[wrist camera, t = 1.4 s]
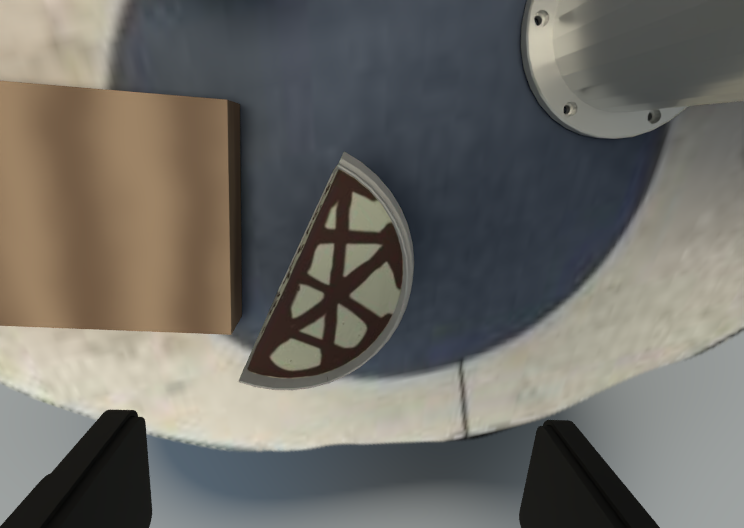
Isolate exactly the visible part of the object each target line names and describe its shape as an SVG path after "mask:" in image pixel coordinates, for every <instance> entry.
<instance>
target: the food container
mask: <svg viewBox="0 0 744 528" xmlns="http://www.w3.org/2000/svg"><path fill="white" fill-rule="evenodd" d="M413 270H414V254H413V243H412V239H411V235H410V231H409V227H408V224H407V221H406V219H405V217H404V214H403V212H402V210H401V207H400V206H399V204H398V202H397V201H396V199H395V198H394V196H393V194H392V193H391V191H390V190H389V189H388V188H387V186H386V185H385V184H384V183H383V182H382V181H381V180H380V178H379V177H378V176H377V175H376V174H375V173H374V172H372V171H371V170H370V169H369V168H368V167H366V166H365V165H364V164H363V163H362V162H360V161H359V160H357V159H355V158H354V157H352V156H351V155H349V154H347V153H346V152H343V155H342V157H341V160H340V162H339V164H338V165H337V166H336V167H335V169H334V170H333V172H332V175H331V177H330V179H329V181H328V183H327V185H326V188H325V190H324V192H323V194H322V196H321V198H320V201H319V203H318V205H317V207H316V209H315V212H314V214H313V216H312V218H311V220H310V222H309V225H308V227H307V229H306V231H305V233H304V235H303V238H302V240H301V242H300V244H299V246H298V249H297V251H296V253H295V255H294V257H293V259H292V262H291V264H290V266H289V268H288V270H287V272H286V275H285V277H284V279H283V281H282V283H281V285H280V288H279V290H278V292H277V294H276V297H275V299H274V301H273V303H272V306H271V308H270V310H269V313H268V315H267V317H266V320H265V322H264V324H263V326H262V329H261V331H260V333H259V336H258V338H257V340H256V342H255V345H254V347H253V349H252V352H251V354H250V356H249V359H248V361H247V363H246V365H245V367H244V369H243V372H242V374H241V377H240V379H239V382H240V383H244V384H247V385H251V386H254V387H259V388H265V389H272V390H298V389H306V388H312V387H316V386H320V385H324V384H328V383H330V382H333V381H335V380H337V379H340V378H342V377H344V376H346V375H348V374H349V373H351V372H353V371H354V370H356V369H358V368H359V367H361V366H362V365H363V364H364V363H366V362H367V361H368V360H369V359H371V358H372V357H373V356H374V355H375V354H376V353H377V352H378V351H379V350H380V349H381V348H382V347H383V346H384V345H385V344H386V342H387V341H388V340H389V339H390V337H391V336H392V334H393V333H394V331H395V330H396V328H397V327H398V325H399V323H400V321H401V319H402V316H403V314H404V312H405V310H406V307H407V303H408V299H409V296H410V292H411V287H412V281H413Z"/></svg>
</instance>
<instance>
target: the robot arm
mask: <svg viewBox="0 0 744 528" xmlns="http://www.w3.org/2000/svg"><path fill="white" fill-rule="evenodd" d="M534 18H537V19H538V21H539V24H538V26H537V25H536V24H535V22H534ZM521 53H522V60H523V67H524V71H525V74H526V77H527V80H528V83H529V86H530V89H531V90H532V92H533V94H534V96H535V97H536V99H537V101H538V102H539V104H540V105H541V107H542V108H543V109H544V110H545V111H546V112H547V113H548V114H549V116H550V117H551V118H552V119H554V120H555V121H557V122H558V123H559V124H561V125H562V126H563V127H565V128H566V129H569V130H571V131H573V132H576V133H578V134H580V135H583V136H589V137H594V138H608V139H617V138H625V137H633V136H637V135H640V134H643V133H646V132H649V131H652V130H654V129H656V128H658V127H659V126H661V125H663V124H665V123H667V122H669V121H670V120H672V119H673V118H674V117H675V116H677V115H678V114H679V113H681V112H682V111H683V110H685V109H686V108H687V107H688V106H696V105H707V104H717V103H727V102H738V101H744V0H527V2H526V6H525V11H524V16H523V21H522V26H521ZM564 106H565V107H566V108H567V111H566V113H565V114H564V109H563V108H564ZM151 518H152V503H151V490H150V477H149V464H148V451H147V438H146V425H145V419H144V418H143V417H138V414H137V412H136V411H134V410H107V411H105V412H104V413H103V414H102V415H101V416H100V418H99V419H98V420H97V421H96V422H95V423H94V425H93V426H92V427H91V428H90V429H89V431H87V433H86V434H85V435H84V436H83V437H82V438H81V439H80V441H79V442H78V443H77V444H76V445H75V446H74V448H73V449H72V450H71V451H70V452H69V453H68V454H67V455H66V457H65V458H64V459H63V460H62V461H61V462H60V463H59V465H58V466H57V467H56V468H55V469H54V470H53V472H52V473H51V474H48V475H47V476H45V477H44V478H43V479H42V480H41V481H40V482H39V483H38V484H37V485H36V487H35V488H34V489H33V490H32V491H31V492H30V493H29V495H28V496H27V497H26V498H25V499H24V500H23V501H22V502H21V504H20V505H19V506H18V507H17V508H16V509H15V510H14V512H13V513H12V514H11V515H10V516H9V517H8V518H7V519H6V521H5V522H4V523H3V524H2V525H1V526H0V528H149V526H150V522H151ZM519 520H520V525H521V528H660V527H659V526H658V525H657V524H656V522H655V521H654V520H653V519H652V518H651V516H650V515H649V514H648V513H647V512H646V510H645V509H644V508H643V507H642V506H641V504H640V503H639V502H638V501H637V499H636V498H635V497H634V496H633V495H632V493H631V492H630V491H629V490H628V489H627V487H626V486H625V485H624V484H623V482H622V481H621V480H620V479H619V478H618V476H617V475H616V474H615V473H614V471H613V470H612V469H611V468H610V467H609V466H608V464H607V463H606V462H605V461H604V459H603V458H602V457H601V456H600V455H599V453H598V452H597V451H596V450H595V448H594V447H593V446H592V445H591V444H590V443H589V441H588V440H587V439H586V438H585V436H584V435H583V434H582V433H581V432H580V430H579V429H578V428H577V427H576V426H575V424H574V423H573V422H572V421H568V420H567V421H565V420H547V421H545V422H544V424H543V426H540V427H538V429H537V431H536V436H535V441H534V446H533V450H532V456H531V460H530V465H529V470H528V474H527V479H526V484H525V488H524V493H523V498H522V503H521V507H520V513H519Z"/></svg>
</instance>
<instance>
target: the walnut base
mask: <svg viewBox="0 0 744 528" xmlns="http://www.w3.org/2000/svg"><path fill="white" fill-rule="evenodd" d="M241 317H242V275H241V167H240V104H238V103H235V102H232V101H229V100H223V99H211V98H199V97H187V96H175V95H163V94H151V93H139V92H127V91H115V90H103V89H91V88H79V87H67V86H55V85H43V84H31V83H19V82H7V81H0V326H24V327H50V328H75V329H101V330H127V331H152V332H178V333H203V334H229V335H231V334H232V332H233V331H234V329H235V327H236V325H237V324H238V322H239V320H240V318H241Z"/></svg>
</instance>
